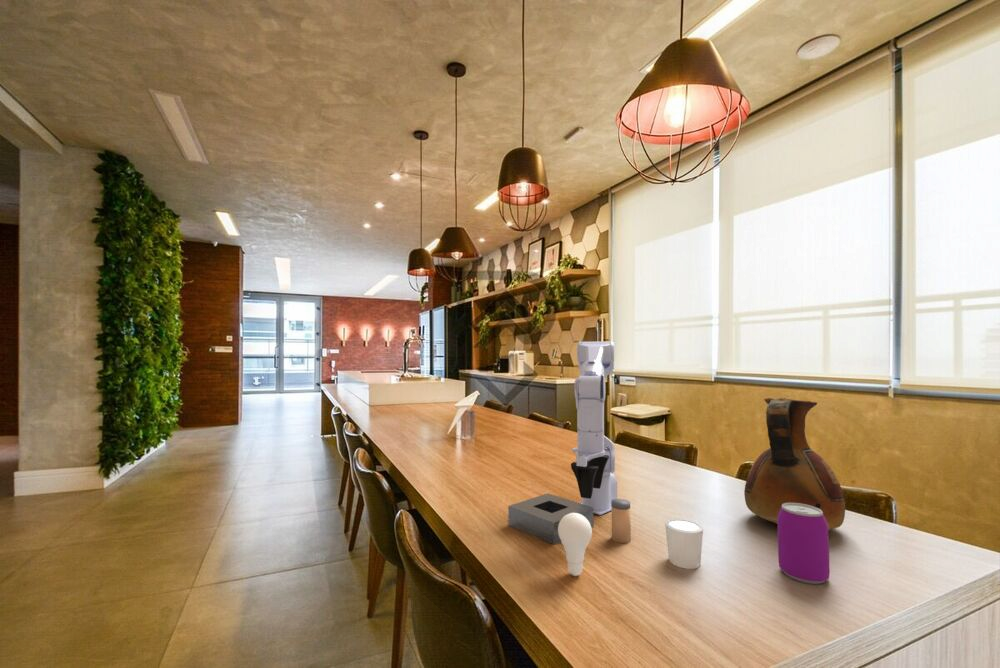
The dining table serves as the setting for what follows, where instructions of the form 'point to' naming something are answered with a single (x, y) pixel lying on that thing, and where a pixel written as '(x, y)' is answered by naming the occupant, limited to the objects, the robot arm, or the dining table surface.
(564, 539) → the lightbulb
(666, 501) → the dining table surface
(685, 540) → the shot glass
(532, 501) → the block
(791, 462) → the ceramic pitcher
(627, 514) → the pin
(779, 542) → the beverage can
